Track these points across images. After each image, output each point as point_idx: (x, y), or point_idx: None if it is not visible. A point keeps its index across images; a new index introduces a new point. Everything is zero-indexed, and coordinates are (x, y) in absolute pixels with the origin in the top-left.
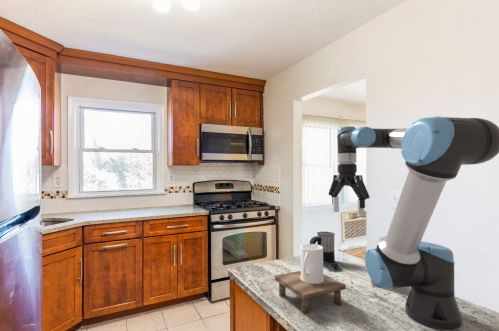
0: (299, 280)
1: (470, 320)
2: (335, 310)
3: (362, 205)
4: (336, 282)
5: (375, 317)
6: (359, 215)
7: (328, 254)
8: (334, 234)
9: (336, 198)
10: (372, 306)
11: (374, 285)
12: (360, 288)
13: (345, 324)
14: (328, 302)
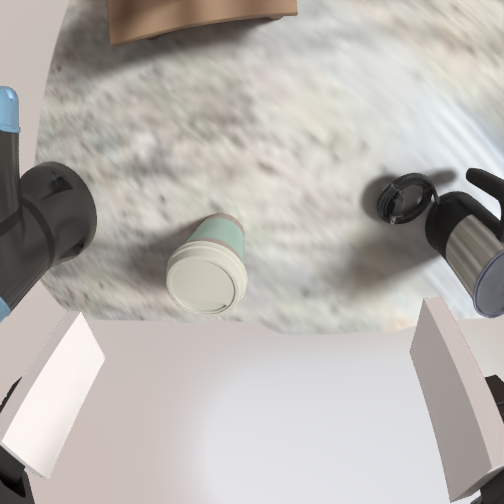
0: None
1: None
2: None
3: (6, 397)
4: (134, 23)
5: (72, 88)
6: (65, 321)
7: (447, 227)
8: (475, 305)
9: (464, 471)
10: (112, 114)
11: (215, 214)
12: (216, 160)
13: (72, 9)
14: None
